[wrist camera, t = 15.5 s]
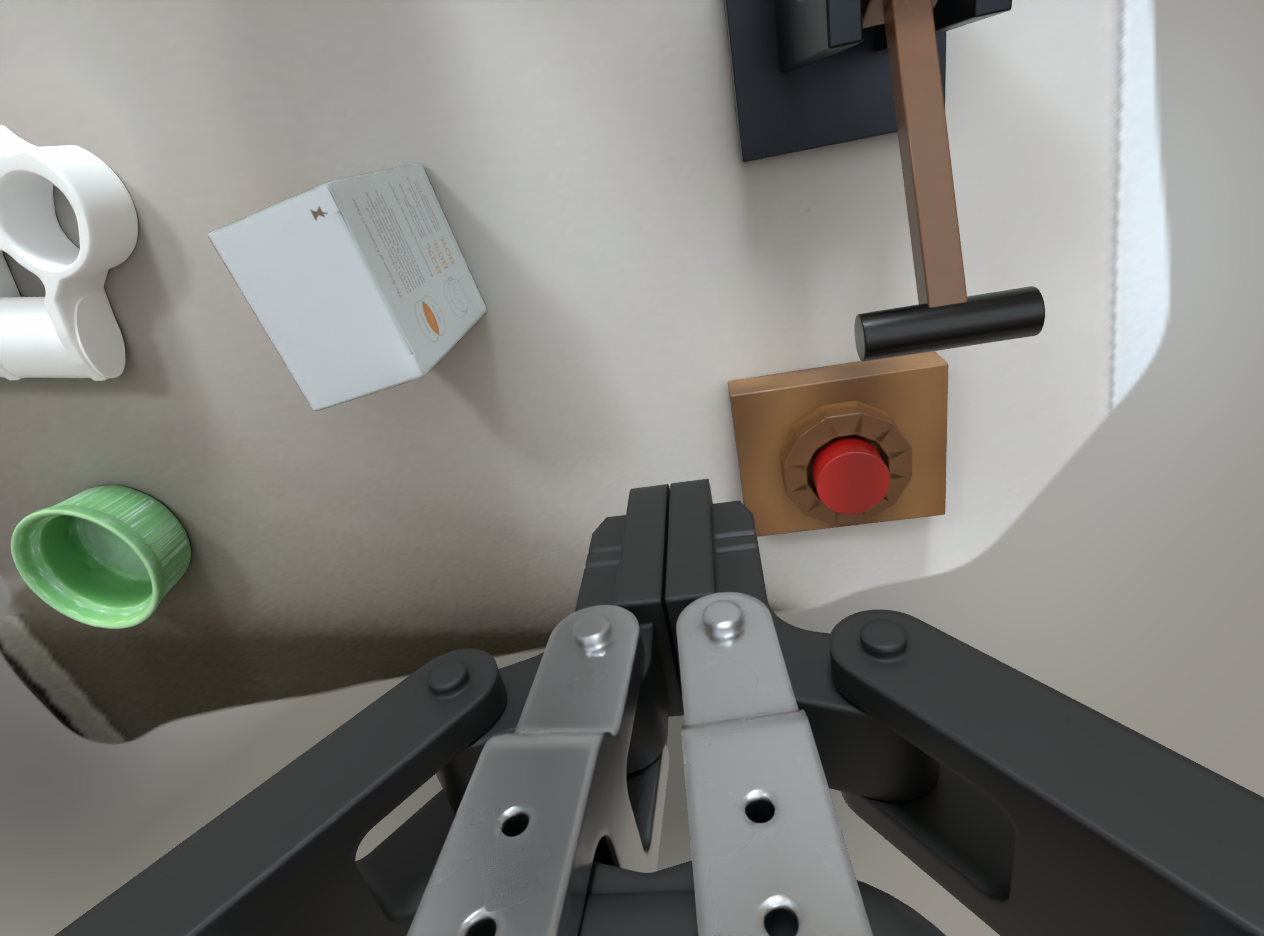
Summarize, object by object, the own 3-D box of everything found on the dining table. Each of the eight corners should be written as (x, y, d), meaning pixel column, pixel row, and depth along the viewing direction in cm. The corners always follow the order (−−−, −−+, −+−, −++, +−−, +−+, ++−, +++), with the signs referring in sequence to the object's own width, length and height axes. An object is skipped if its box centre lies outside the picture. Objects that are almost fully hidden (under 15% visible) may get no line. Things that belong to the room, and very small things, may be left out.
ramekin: (226, 575, 47) (185, 616, 43) (120, 598, 49) (70, 640, 45) (152, 462, 43) (99, 496, 39) (39, 491, 45) (-23, 527, 41)
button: (813, 501, 37) (819, 518, 35) (808, 442, 35) (814, 457, 34) (882, 493, 36) (891, 509, 35) (880, 432, 35) (889, 447, 33)
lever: (1019, 340, 21) (1056, 329, 19) (855, 365, 22) (870, 358, 20) (970, -91, 21) (1001, -157, 18) (802, -50, 21) (811, -109, 19)
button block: (745, 517, 42) (751, 554, 38) (727, 380, 38) (731, 408, 34) (932, 494, 40) (956, 531, 37) (934, 349, 36) (960, 374, 33)
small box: (329, 199, 35) (198, 228, 26) (424, 160, 34) (324, 177, 24) (401, 343, 38) (309, 416, 29) (491, 312, 37) (425, 378, 28)
